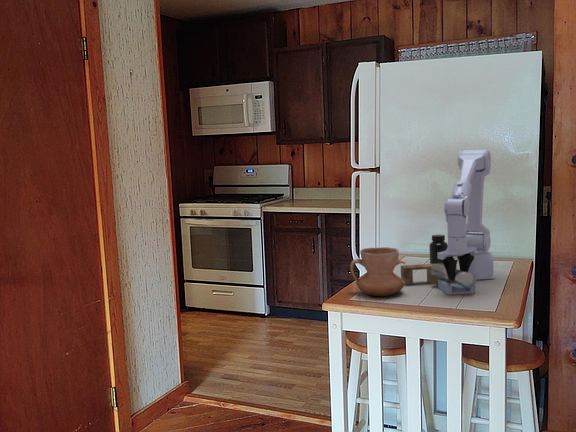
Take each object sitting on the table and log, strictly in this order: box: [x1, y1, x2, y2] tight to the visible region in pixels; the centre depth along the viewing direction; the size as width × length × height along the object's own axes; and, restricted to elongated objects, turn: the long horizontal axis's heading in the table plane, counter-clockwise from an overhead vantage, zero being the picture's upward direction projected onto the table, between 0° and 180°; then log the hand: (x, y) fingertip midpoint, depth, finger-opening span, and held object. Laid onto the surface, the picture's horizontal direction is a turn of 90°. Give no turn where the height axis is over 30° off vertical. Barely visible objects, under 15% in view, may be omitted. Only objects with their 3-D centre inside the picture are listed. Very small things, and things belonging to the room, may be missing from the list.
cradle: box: [437, 279, 476, 296], centre depth 175 cm, size 9×9×3 cm
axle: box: [430, 264, 477, 288], centre depth 175 cm, size 4×16×4 cm, turn 26°
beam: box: [400, 263, 458, 287], centre depth 186 cm, size 18×4×6 cm, turn 93°
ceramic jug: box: [350, 246, 407, 297], centre depth 176 cm, size 18×14×14 cm
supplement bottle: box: [428, 234, 448, 264], centre depth 209 cm, size 7×7×12 cm
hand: (457, 278), depth 173 cm, fingers closed on axle, 4 cm apart
